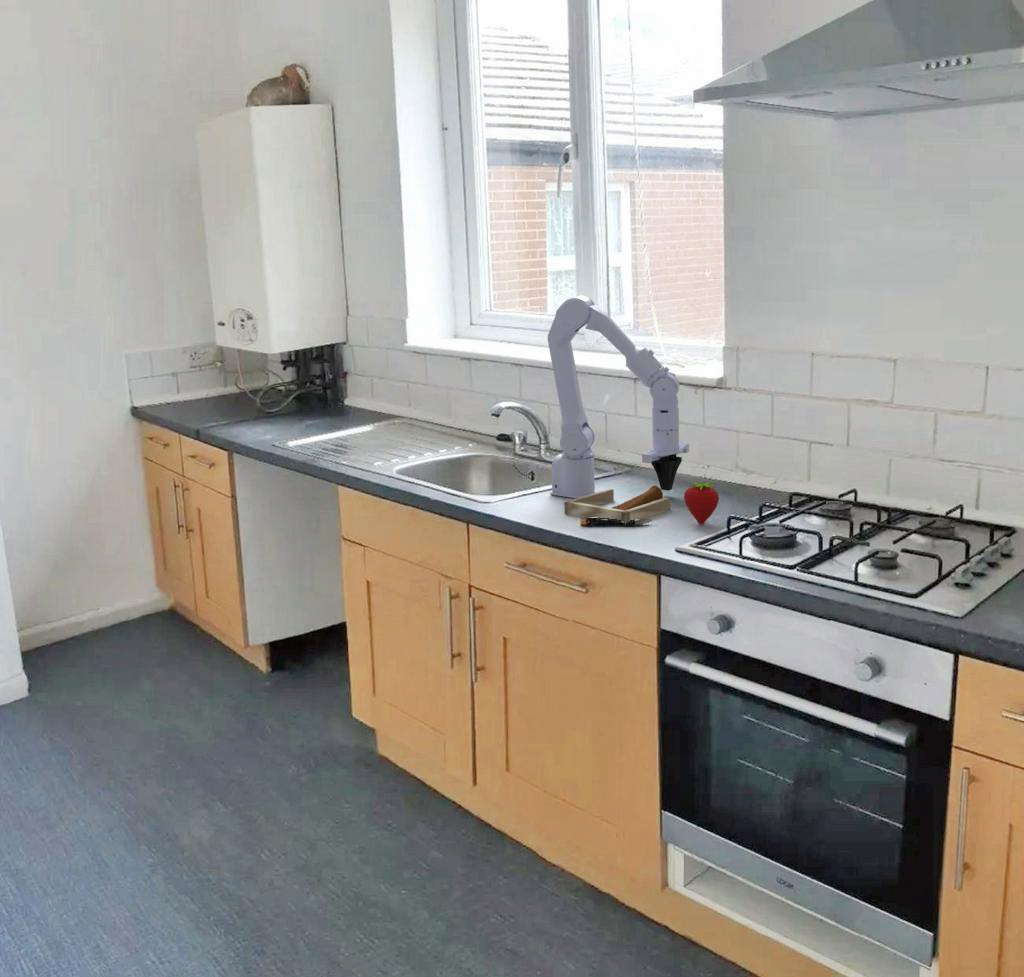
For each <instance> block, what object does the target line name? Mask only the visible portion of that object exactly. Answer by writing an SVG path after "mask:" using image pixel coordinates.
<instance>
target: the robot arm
mask: <svg viewBox="0 0 1024 977" xmlns="http://www.w3.org/2000/svg"><path fill="white" fill-rule="evenodd" d="M553 318H554V319H553V320H552V324H551V326H550V328H549V331H548V334H547V342H548V348H549V355H550V358H551V359H550V360H551V364H552V365H551V366H552V371H553V375H554V381H555V388H556V392H557V397H558V401H559V402H558V403H559V406H560V407H559V408H560V413H561V422H560V429H561V436H560V440H559V447H560V449H561V452H562V453H559V454H557V455H556V456H554V458H553V460H552V462H551V490H552V491H550V492H549V495H553V496H559V497H564V498H570V499H576V498H579V497H583V496H586V495H589V494H593V493H596V492H599V491H602V490H599V489H595V488H596V484H595V452H593V450H592V449H591V447H592V446H593V444H594V442H595V438H596V437H595V432H594V430H593V428H592V427H591V426H590V424H589V422H588V421H589V420H588V417H587V415H586V413H585V410H584V407H583V401H582V395H581V390H580V384H579V379H578V374H577V368H576V363H575V357H574V352H573V345H572V340H573V339H574V338H575V336H576V335H577V334H578V333H579V331H580V330H581V329H582V328H583V327H585V329H586V330H589V331H594V332H598V333H600V334H601V335H602V336H603V337H605V340H607V341H609V343H610V344H612V346H614V348H616V349H617V350H618V351H619V352H620V353H621V354H622V355H623V356H624V357H625V367H627V369H628V370H629V371H630V372H631V373H632V374H633V375H634V376H636V378H637V379H638V381H640V382H641V384H642V385H644V386H645V387H648V388H649V393H650V396H651V398H652V408H651V409H652V410H651V411H652V412H651V414H652V419H651V420H652V448H651V449H649V450H648V451H646V452H643V453H641V454H642V455H641V458H642V459H641V461H642V463H644V464H651V466H652V468H653V469H654V471H655V473H656V476H657V479H658V484H659V488H660V489H661V491H669V492H670V491H671V490H673V487H674V483H675V482H674V481H675V478H676V474H677V471H678V469H679V468H680V465H681V463H682V462H683V458H682V456H677V455H681V454H683V453H684V454H688V453H689V452H690V444H689V443H683V442H681V443H680V424H679V423H680V422H679V421H680V419H679V418H680V416H679V414H680V413H679V411H680V409H679V399H678V398H679V397H678V393H679V390H680V382H679V378H677V377H676V374H675V373H673V372H671V371H670V368H669V367H668V366H663V365H662V363H661V362H660V361H659V360H658V358H656V357H655V356H654V355H655V352H654V351H653V350H652V349H649V350H648V349H647V348H646V347H644V346H637V345H636V344H635V343H634V342H633V341H632V340H631V339H630V338H629V336H627V334H626V333H625V332H624V331H623V330H622V329H621V327H620V326H619V325H617V323H616V322H615V321H614V320H613V318H612V317H610V316H609V314H608V313H607V312H606V311H605V310H604V309H603V308H602V307H601V306H600V305H598V304H595V302H594V301H593V299H591V298H590V297H589V296H587V295H582V294H581V295H578V296H574V297H570V298H567V299H566V300H565V301H564V302H563V303H562V304H561V305H560V306H559V307H558V308H557V309H556V311H555V314H554V317H553Z"/></svg>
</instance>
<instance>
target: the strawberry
mask: <svg viewBox="0 0 1024 977" xmlns="http://www.w3.org/2000/svg"><path fill="white" fill-rule="evenodd" d="M705 477H706V474H704V475H703V480H702V483H701V482H689V483H690V485H689V487H688V488H687V489H685V491H684V496H683V499H684V502H685V506H686V507H687V509H688V511H689V512H690V514H691V516H692V517H693V518H694V519H695V520H696V522H697V523H698V524H699V525H703V524H705V523H706V521H707V520H708V519H709V518H710V517H711V516H712V515H713V513H714V512H715V511H716V509H717V508H718V504H719V500H720V498H719V493H718V492H717V490H716V489H714V488H716V486H714V485H715V483H714V482H705V483H703V482H704V480H705Z"/></svg>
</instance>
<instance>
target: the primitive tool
mask: <svg viewBox="0 0 1024 977" xmlns="http://www.w3.org/2000/svg"><path fill="white" fill-rule="evenodd" d="M662 498H664V493H663V490H661V487H660V486H657V485H652V486H651V487H649V489H648V490H647V491H645V492H643V493H641V494H639V495H637V496H635V497H632V498H631V499H629V500H627V501H624V502H623V503H620V504H617V505H615V506H612V507H611V508H613V509H619V510H628V509H632V508H635V507H638V506H641V505H644V504H647V503H650V502H653V501H655V500H659V499H662Z"/></svg>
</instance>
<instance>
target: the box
mask: <svg viewBox="0 0 1024 977" xmlns="http://www.w3.org/2000/svg"><path fill="white" fill-rule="evenodd" d="M614 494H615V492H614V489H613V488H607V489H604V490H601V491H599V492H596V493H593V494H589V495H586V496H583V497H579V498H571V499H569V500H566V501H564V502H563V503H564V514H566V515H570V516H577V517H583V518H587V517H598V518H609V519H617V520H622V521H623V522H624V523H625V524H624V525H626V523H627V522H629V521H630V520H634V519H642V520H644V519H647V518H648V519H649V518H650V517H653V516H657V515H659V514H662V513H665V512H668V511H671V497H663V498H662V499H659V500H656V501H652V502H650V503H647V504H644V505H641V506H638V507H635V508H632V509H628V510H619V509H613V508H612V507H608V506H607V507H606V506H601V505H603V504H604V505H605V504H606V503H610V502H613V501H615V500H614V499H615V498H614Z"/></svg>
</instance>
